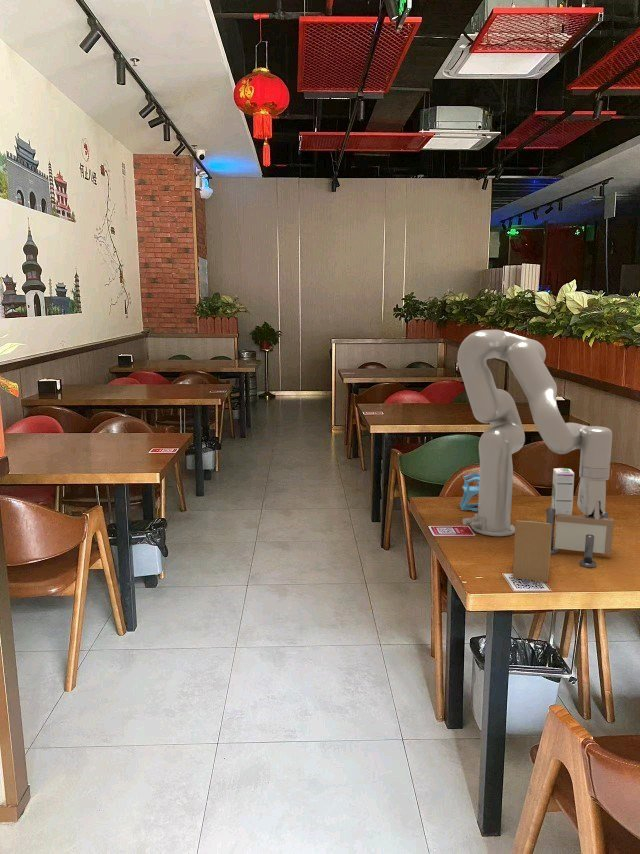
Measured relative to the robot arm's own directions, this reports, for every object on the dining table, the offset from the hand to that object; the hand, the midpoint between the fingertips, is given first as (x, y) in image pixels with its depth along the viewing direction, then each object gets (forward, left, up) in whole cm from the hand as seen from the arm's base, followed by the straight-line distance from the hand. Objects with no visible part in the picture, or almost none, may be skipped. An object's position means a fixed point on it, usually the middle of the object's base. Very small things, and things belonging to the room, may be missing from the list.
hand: (589, 536), depth 179 cm
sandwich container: (-23, -8, -4) cm, 24 cm away
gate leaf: (-4, -3, -3) cm, 5 cm away
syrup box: (+13, +31, -4) cm, 34 cm away
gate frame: (-3, -4, -4) cm, 6 cm away
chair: (-13, +42, -4) cm, 45 cm away
